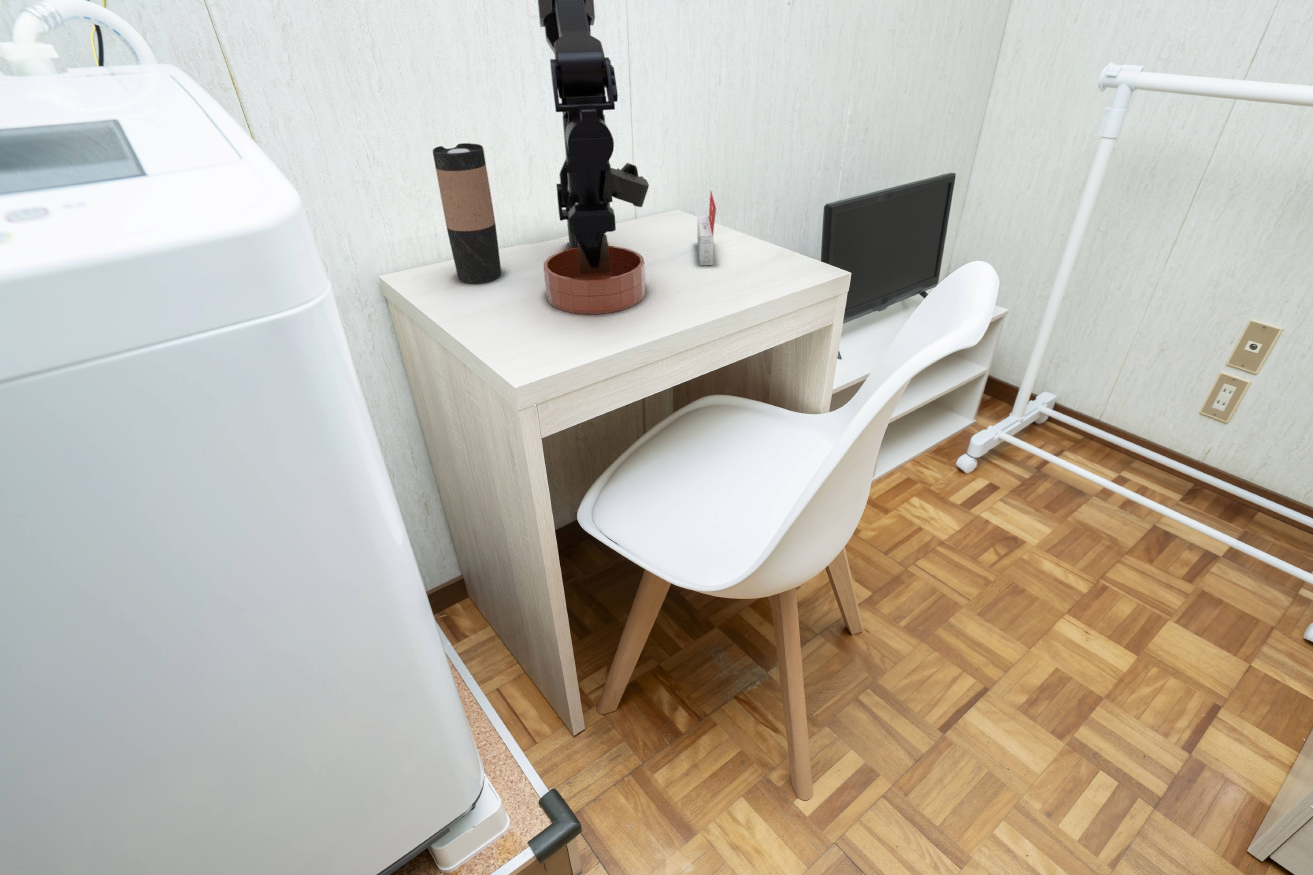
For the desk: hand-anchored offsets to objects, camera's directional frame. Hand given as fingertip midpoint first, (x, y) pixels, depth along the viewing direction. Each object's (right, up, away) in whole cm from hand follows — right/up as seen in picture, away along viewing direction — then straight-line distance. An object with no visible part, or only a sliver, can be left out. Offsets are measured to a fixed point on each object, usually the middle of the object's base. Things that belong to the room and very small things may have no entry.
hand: (594, 261), depth 101 cm
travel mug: (-20, 0, +10) cm, 23 cm away
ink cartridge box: (+18, +6, +17) cm, 26 cm away
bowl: (0, -4, +3) cm, 5 cm away
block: (0, -1, +1) cm, 1 cm away
